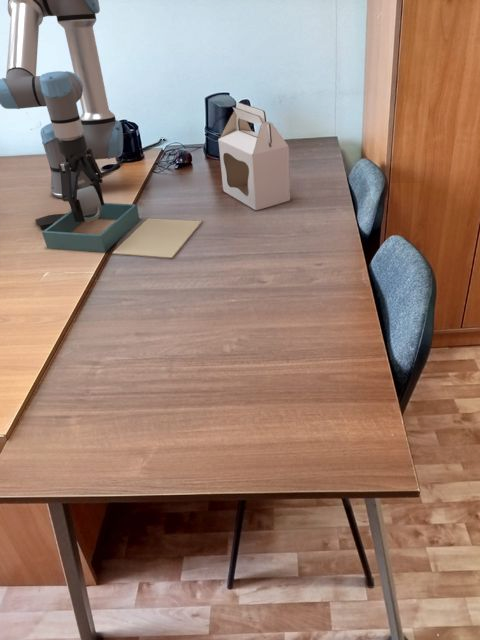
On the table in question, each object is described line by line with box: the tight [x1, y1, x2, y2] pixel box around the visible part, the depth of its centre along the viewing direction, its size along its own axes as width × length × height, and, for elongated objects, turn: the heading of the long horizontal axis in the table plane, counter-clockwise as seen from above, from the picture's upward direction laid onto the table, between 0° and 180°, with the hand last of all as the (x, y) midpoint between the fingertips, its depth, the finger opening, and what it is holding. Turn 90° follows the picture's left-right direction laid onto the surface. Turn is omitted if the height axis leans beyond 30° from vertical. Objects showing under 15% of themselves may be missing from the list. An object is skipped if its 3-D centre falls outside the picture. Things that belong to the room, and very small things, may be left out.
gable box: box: [217, 102, 291, 211], centre depth 169 cm, size 22×13×28 cm, turn 32°
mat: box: [111, 217, 203, 260], centre depth 156 cm, size 24×18×1 cm
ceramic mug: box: [72, 186, 102, 223], centre depth 154 cm, size 11×8×8 cm
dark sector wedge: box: [34, 212, 68, 231], centre depth 169 cm, size 8×14×2 cm, turn 120°
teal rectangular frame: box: [41, 202, 140, 253], centre depth 159 cm, size 23×19×5 cm
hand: (90, 213), depth 157 cm, fingers closed on ceramic mug, 11 cm apart
